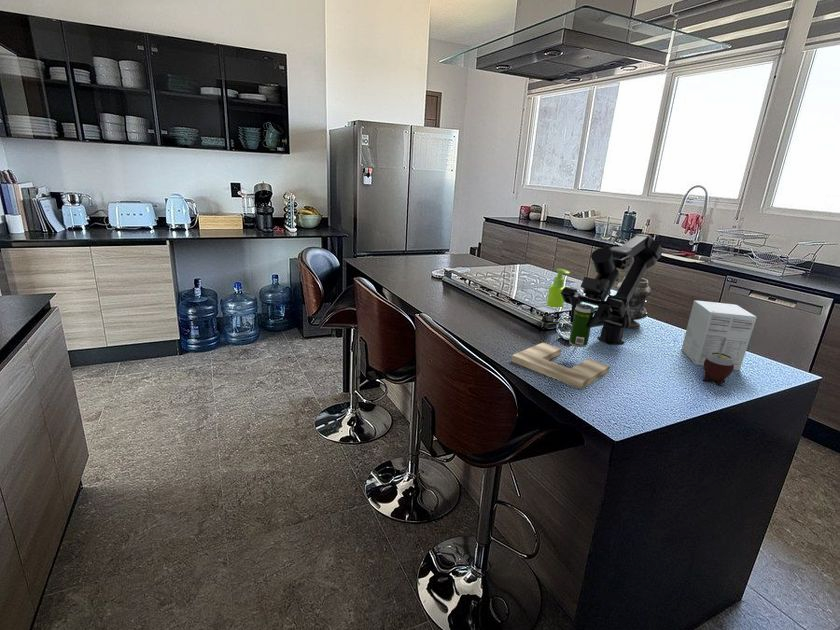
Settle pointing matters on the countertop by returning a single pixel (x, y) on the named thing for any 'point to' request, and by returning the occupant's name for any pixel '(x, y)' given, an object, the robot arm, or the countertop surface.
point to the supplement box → (718, 331)
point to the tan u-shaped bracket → (560, 366)
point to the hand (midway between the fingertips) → (579, 324)
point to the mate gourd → (718, 366)
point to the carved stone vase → (638, 302)
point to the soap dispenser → (557, 290)
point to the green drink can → (581, 325)
